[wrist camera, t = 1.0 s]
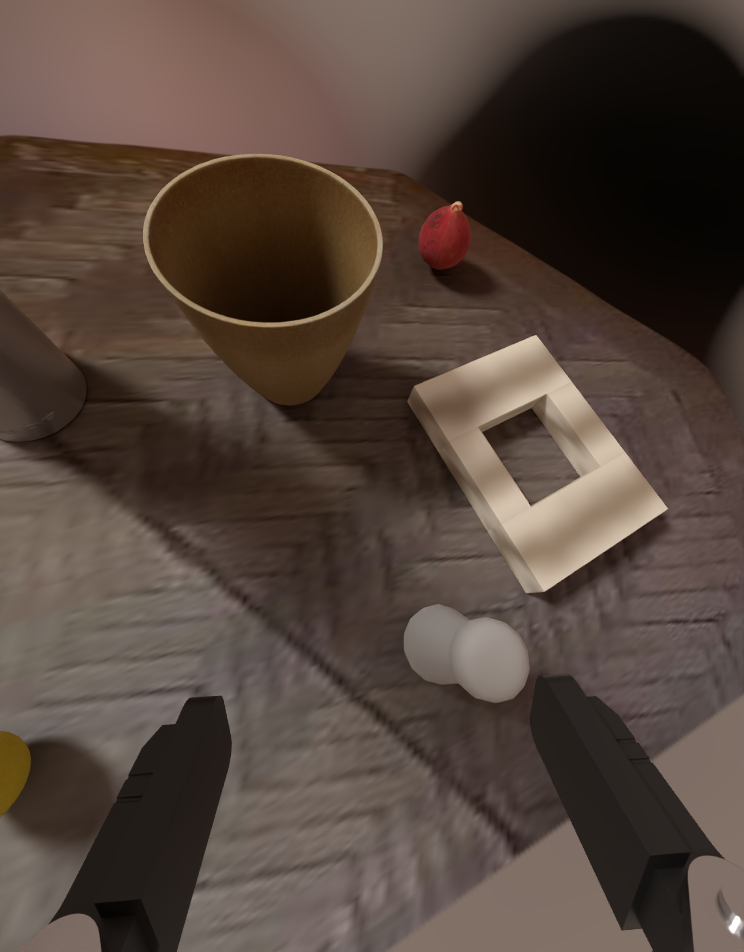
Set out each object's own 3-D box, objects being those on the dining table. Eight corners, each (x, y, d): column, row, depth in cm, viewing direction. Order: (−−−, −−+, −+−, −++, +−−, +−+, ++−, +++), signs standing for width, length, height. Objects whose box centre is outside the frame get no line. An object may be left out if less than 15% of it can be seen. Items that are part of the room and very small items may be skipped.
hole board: (407, 401, 40) (413, 386, 37) (522, 352, 44) (536, 335, 41) (526, 593, 35) (544, 591, 32) (642, 516, 39) (667, 508, 36)
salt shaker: (415, 592, 33) (470, 584, 21) (473, 624, 33) (562, 633, 21) (386, 658, 31) (429, 690, 19) (447, 692, 31) (530, 746, 19)
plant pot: (303, 296, 43) (295, 127, 28) (386, 391, 40) (428, 261, 25) (182, 357, 38) (93, 194, 23) (266, 469, 35) (229, 367, 20)
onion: (411, 281, 45) (430, 217, 38) (412, 246, 47) (429, 178, 40) (458, 288, 46) (485, 226, 39) (457, 253, 48) (482, 188, 41)
